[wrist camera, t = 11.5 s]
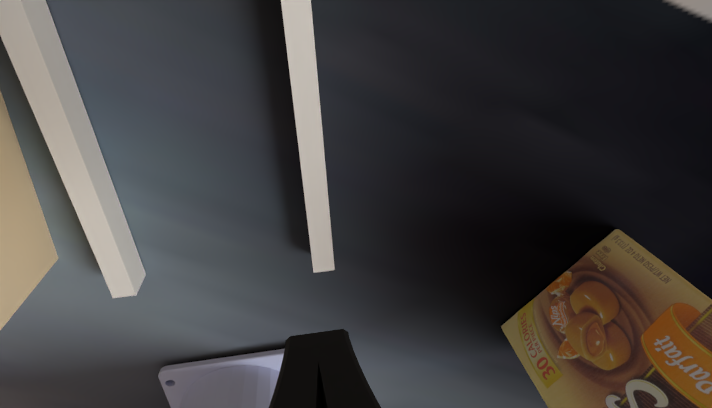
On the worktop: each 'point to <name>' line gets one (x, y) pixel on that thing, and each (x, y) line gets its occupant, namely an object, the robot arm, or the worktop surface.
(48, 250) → the tall tan wooden block
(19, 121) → the worktop surface
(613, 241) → the candy box
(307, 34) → the divider organiser
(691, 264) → the worktop surface
